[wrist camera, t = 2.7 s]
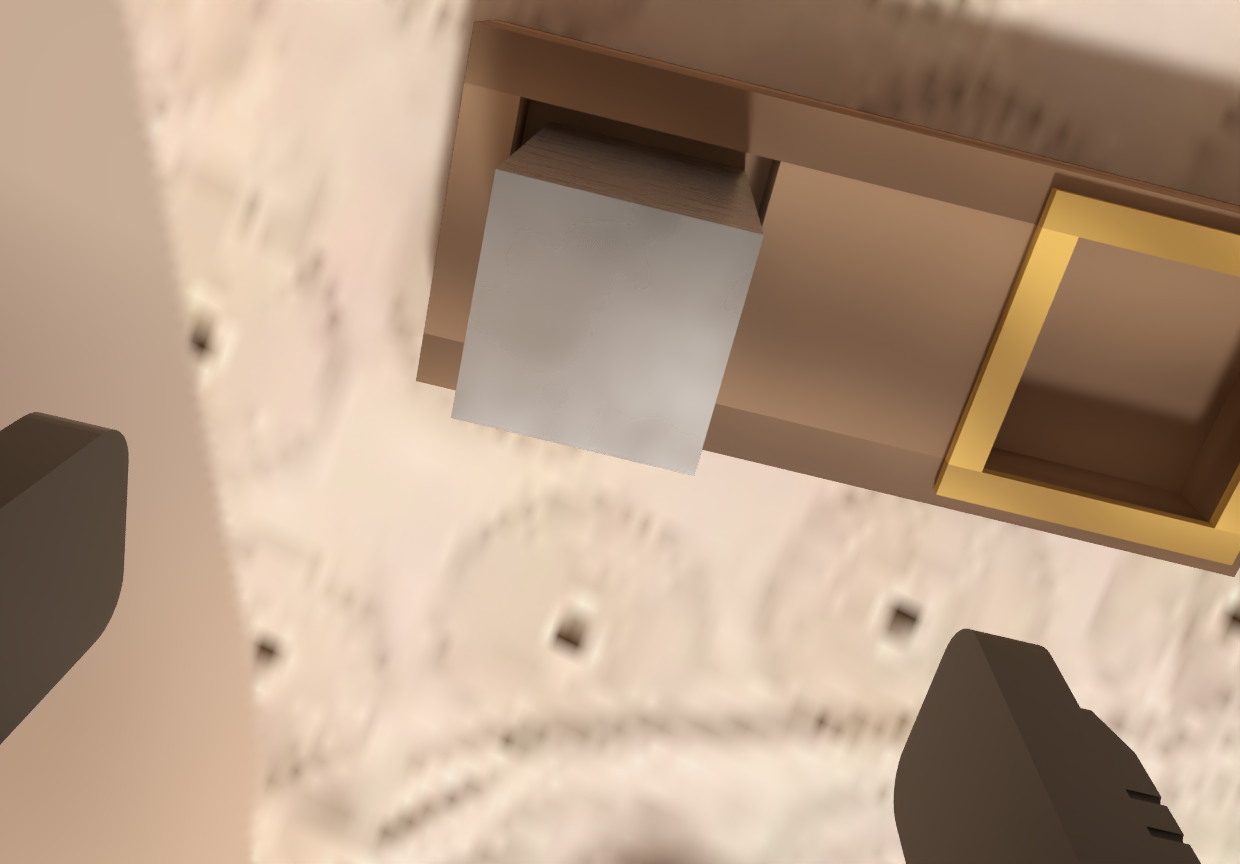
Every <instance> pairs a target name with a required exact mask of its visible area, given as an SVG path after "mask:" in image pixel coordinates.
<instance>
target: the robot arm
mask: <svg viewBox="0 0 1240 864" xmlns="http://www.w3.org/2000/svg"><path fill="white" fill-rule="evenodd" d="M127 484H128V447H127V443H126V440H125V438H124V436H123V435H122V434H121V433H120V432H119V431H117V430H113V429H109V428H105V427H100V426H96V425H91V424H87V423H83V422H79V421H74V420H70V419H66V418H61V417H57V416H53V415H48V414H44V413H39V412H34V413H30V414H28V415H25V416H24V417H22V418H20V419H19V420H17V421H15V422H14V423H12V424H11V425H9V426H7V427H6V428H4V429H3V430H1V431H0V744H1V743H2V742H3V741H4V740H5V739H6V738H7V737H8V736H9V735H10V733H11V732H12V731H13V730H14V729H15V728H16V727H17V726H18V725H19V724H20V723H21V722H22V721H23V719H24V718H25V717H26V716H27V715H28V714H29V713H30V712H31V711H32V710H33V709H34V708H35V706H36V705H37V704H38V703H39V702H40V701H41V700H42V699H43V698H44V697H45V695H47V694H48V692H49V691H50V690H51V689H52V688H53V687H54V686H55V685H56V684H57V683H58V682H59V681H60V680H61V678H62V677H63V676H64V675H65V674H66V673H67V672H68V671H69V669H71V668H72V667H73V666H74V664H75V663H76V662H77V661H78V660H79V659H80V658H81V657H82V656H83V655H84V654H85V652H86V651H87V650H88V649H89V648H90V647H91V646H92V645H93V644H94V643H95V642H96V640H97V639H98V638H99V637H100V636H101V634H102V632H103V631H104V630H105V628H106V626H107V624H108V623H109V621H110V619H111V617H112V615H113V612H114V610H115V607H116V605H117V602H118V598H119V595H120V591H121V587H122V582H123V573H124V553H125V529H126V507H127ZM1160 800H1161V796H1160V794H1159V792H1158V791H1157V789H1156V787H1155V786H1154V784H1153V782H1152V781H1151V779H1150V777H1149V776H1148V774H1147V772H1146V771H1145V769H1144V767H1143V766H1142V764H1141V762H1140V761H1139V759H1138V757H1137V756H1136V754H1135V752H1133V751H1132V750H1131V749H1130V748H1129V747H1128V746H1127V745H1126V744H1125V743H1124V742H1123V741H1122V740H1121V739H1120V738H1119V737H1118V736H1117V735H1116V734H1115V733H1114V732H1113V731H1112V730H1111V729H1110V728H1109V727H1108V726H1107V725H1106V724H1105V723H1104V722H1102V721H1101V720H1100V719H1099V718H1098V717H1097V716H1096V715H1095V714H1094V713H1093V712H1092V711H1091V710H1086V709H1082V708H1080V707H1079V705H1078V703H1077V701H1076V699H1075V698H1074V696H1073V694H1072V692H1071V690H1070V689H1069V687H1068V685H1067V683H1066V681H1065V680H1064V678H1063V676H1062V674H1061V672H1060V671H1059V669H1058V667H1057V665H1056V663H1055V662H1054V660H1053V658H1052V656H1051V655H1050V653H1049V652H1048V650H1046V649H1045V648H1044V647H1042V646H1040V645H1035V644H1031V643H1027V642H1023V641H1018V640H1014V639H1010V638H1005V637H1001V636H997V635H992V634H988V633H984V632H979V631H975V630H971V629H962V630H960V631H959V632H957V633H956V634H955V635H954V637H953V638H952V639H951V641H950V642H949V644H948V646H947V648H946V650H945V652H944V655H943V657H942V659H941V662H940V664H939V667H938V669H937V671H936V674H935V676H934V678H933V681H932V683H931V685H930V688H929V690H928V693H927V695H926V697H925V700H924V702H923V704H922V707H921V709H920V712H919V714H918V716H917V719H916V721H915V723H914V726H913V728H912V730H911V733H910V735H909V738H908V740H907V742H906V745H905V747H904V749H903V752H902V755H901V757H900V761H899V764H898V769H897V773H896V779H895V787H894V814H895V821H896V826H897V830H898V834H899V838H900V842H901V845H902V849H903V853H904V857H905V861H906V864H1201V863H1200V861H1199V860H1198V858H1197V856H1196V854H1195V853H1194V851H1193V849H1192V848H1191V846H1190V845H1189V844H1184V843H1183V836H1184V834H1183V833H1182V831H1181V829H1180V828H1179V826H1178V824H1177V823H1176V821H1175V819H1174V818H1173V816H1172V814H1171V813H1170V811H1169V809H1168V808H1167V806H1164V805H1161V804H1160Z"/></svg>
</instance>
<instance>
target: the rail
mask: <svg viewBox="0 0 1240 864" xmlns="http://www.w3.org/2000/svg"><path fill="white" fill-rule="evenodd" d="M551 121H552V122H556V123H560V124H565V125H569V126H573V127H577V128H581V129H585V130H589V131H593V132H597V133H601V134H605V135H609V136H613V137H617V138H621V139H625V140H629V141H633V142H637V143H641V144H645V145H649V146H653V147H657V148H661V149H665V150H669V151H673V152H678V153H682V154H686V155H690V156H694V157H698V158H702V159H706V160H710V161H714V162H718V163H722V164H726V165H730V166H734V167H738V168H742V169H745V171H746V174H747V178H748V181H749V185H750V188H751V192H752V195H753V199H754V202H755V206H756V209H757V212H758V216H759V219H760V223H761V226H762V230H763V233H764V237H763V240H762V244H761V247H760V251H759V254H758V258H757V261H756V265H755V268H754V272H753V275H752V278H751V282H750V285H749V289H748V292H747V296H746V299H745V303H744V306H743V310H742V313H741V316H740V320H739V323H738V327H737V330H736V334H735V337H734V341H733V344H732V348H731V351H730V355H729V358H728V361H727V365H726V368H725V372H724V375H723V379H722V382H721V386H720V389H719V393H718V396H717V399H716V403H715V406H714V410H713V413H712V417H711V420H710V424H709V427H708V431H707V434H706V437H705V441H704V444H703V448H702V450H706V451H711V452H715V453H719V454H723V455H727V456H731V457H736V458H740V459H744V460H748V461H752V462H756V463H761V464H765V465H769V466H773V467H777V468H782V469H786V470H790V471H794V472H798V473H802V474H807V475H811V476H815V477H819V478H823V479H827V480H832V481H836V482H840V483H844V484H848V485H852V486H857V487H861V488H865V489H869V490H873V491H877V492H882V493H886V494H890V495H894V496H898V497H902V498H907V499H911V500H915V501H919V502H923V503H927V504H932V505H936V506H940V507H944V508H948V509H953V510H957V511H961V512H965V513H969V514H973V515H978V516H982V517H986V518H990V519H994V520H998V521H1003V522H1007V523H1011V524H1015V525H1019V526H1023V527H1028V528H1032V529H1036V530H1040V531H1044V532H1048V533H1053V534H1057V535H1061V536H1065V537H1069V538H1073V539H1078V540H1082V541H1086V542H1090V543H1094V544H1098V545H1103V546H1107V547H1111V548H1115V549H1119V550H1124V551H1128V552H1132V553H1136V554H1140V555H1144V556H1149V557H1153V558H1157V559H1161V560H1165V561H1169V562H1174V563H1178V564H1182V565H1186V566H1190V567H1194V568H1199V569H1203V570H1207V571H1211V572H1215V573H1219V574H1224V575H1228V576H1232V577H1235V575H1236V573H1237V571H1238V569H1239V568H1240V206H1238V205H1234V204H1230V203H1226V202H1222V201H1218V200H1214V199H1210V198H1206V197H1202V196H1198V195H1194V194H1190V193H1186V192H1182V191H1178V190H1174V189H1170V188H1166V187H1162V186H1158V185H1154V184H1150V183H1146V182H1142V181H1138V180H1134V179H1130V178H1126V177H1122V176H1118V175H1114V174H1110V173H1106V172H1102V171H1098V170H1094V169H1090V168H1086V167H1082V166H1078V165H1074V164H1070V163H1066V162H1062V161H1058V160H1054V159H1050V158H1046V157H1042V156H1038V155H1034V154H1030V153H1026V152H1022V151H1018V150H1014V149H1010V148H1006V147H1002V146H998V145H994V144H990V143H986V142H982V141H978V140H974V139H970V138H966V137H962V136H958V135H954V134H950V133H946V132H942V131H938V130H934V129H930V128H926V127H922V126H918V125H914V124H910V123H906V122H902V121H898V120H894V119H890V118H886V117H882V116H878V115H874V114H870V113H866V112H862V111H858V110H854V109H850V108H846V107H842V106H838V105H834V104H830V103H826V102H822V101H818V100H814V99H810V98H806V97H802V96H798V95H794V94H790V93H786V92H782V91H778V90H774V89H770V88H766V87H762V86H758V85H754V84H750V83H746V82H742V81H738V80H734V79H730V78H726V77H722V76H718V75H714V74H710V73H706V72H702V71H698V70H694V69H690V68H686V67H682V66H678V65H674V64H670V63H666V62H662V61H658V60H654V59H650V58H646V57H642V56H638V55H634V54H630V53H626V52H622V51H618V50H614V49H610V48H606V47H602V46H598V45H594V44H590V43H586V42H582V41H578V40H574V39H570V38H566V37H562V36H558V35H554V34H550V33H546V32H542V31H538V30H534V29H530V28H526V27H522V26H518V25H514V24H510V23H506V22H502V21H498V20H488V21H480V22H474V26H473V32H472V38H471V44H470V50H469V57H468V63H467V69H466V75H465V81H464V87H463V94H462V100H461V106H460V112H459V118H458V125H457V131H456V137H455V143H454V149H453V155H452V162H451V168H450V174H449V180H448V186H447V193H446V199H445V205H444V211H443V217H442V223H441V230H440V236H439V242H438V248H437V254H436V261H435V267H434V273H433V279H432V285H431V291H430V298H429V304H428V310H427V316H426V322H425V328H424V335H423V341H422V347H421V353H420V359H419V366H418V372H417V378H416V381H419V382H423V383H427V384H431V385H435V386H440V387H444V388H448V389H452V390H456V387H457V382H458V376H459V371H460V365H461V359H462V354H463V348H464V343H465V337H466V331H467V326H468V320H469V315H470V309H471V304H472V298H473V292H474V287H475V281H476V276H477V270H478V264H479V259H480V253H481V248H482V242H483V237H484V231H485V225H486V220H487V214H488V209H489V203H490V197H491V192H492V186H493V181H494V175H495V170H496V168H497V167H499V166H500V165H501V164H502V163H503V162H504V161H505V160H507V159H508V158H509V157H510V156H511V155H512V154H514V153H515V152H516V151H517V150H518V149H519V148H521V147H522V146H523V145H524V144H525V143H526V142H527V141H529V140H530V139H531V138H532V137H533V136H534V135H536V134H537V133H538V132H539V131H540V130H541V129H542V128H544V127H545V126H546V125H547V124H548V123H549V122H551Z"/></svg>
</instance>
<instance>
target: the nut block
mask: <svg viewBox="0 0 1240 864" xmlns="http://www.w3.org/2000/svg"><path fill="white" fill-rule="evenodd" d="M763 237H764V233H763V230H762V226H761V223H760V219H759V216H758V212H757V209H756V206H755V202H754V199H753V195H752V192H751V188H750V185H749V181H748V178H747V174H746V171H745V169H742V168H738V167H734V166H730V165H726V164H722V163H718V162H714V161H710V160H706V159H702V158H698V157H694V156H690V155H686V154H682V153H678V152H673V151H669V150H665V149H661V148H657V147H653V146H649V145H645V144H641V143H637V142H633V141H629V140H625V139H621V138H617V137H613V136H609V135H605V134H601V133H597V132H593V131H589V130H585V129H581V128H577V127H573V126H569V125H565V124H560V123H556V122H552V121H551V122H549V123H548V124H547V125H546V126H545V127H544V128H542V129H541V130H540V131H539V132H538V133H537V134H536V135H534V136H533V137H532V138H531V139H530V140H529V141H527V142H526V143H525V144H524V145H523V146H522V147H521V148H519V149H518V150H517V151H516V152H515V153H514V154H512V155H511V156H510V157H509V158H508V159H507V160H505V161H504V162H503V163H502V164H501V165H500V166H499V167H497V168H496V170H495V175H494V181H493V186H492V192H491V197H490V203H489V209H488V214H487V220H486V225H485V231H484V237H483V242H482V248H481V253H480V259H479V264H478V270H477V276H476V281H475V287H474V292H473V298H472V304H471V309H470V315H469V320H468V326H467V331H466V337H465V343H464V348H463V354H462V359H461V365H460V371H459V376H458V382H457V387H456V393H455V398H454V404H453V410H452V415H451V418H454V419H458V420H462V421H466V422H471V423H475V424H479V425H483V426H487V427H491V428H496V429H500V430H504V431H508V432H512V433H517V434H521V435H525V436H529V437H533V438H537V439H542V440H546V441H550V442H554V443H558V444H563V445H567V446H571V447H575V448H579V449H583V450H588V451H592V452H596V453H600V454H604V455H609V456H613V457H617V458H621V459H625V460H630V461H634V462H638V463H642V464H646V465H650V466H655V467H659V468H663V469H667V470H671V471H676V472H680V473H684V474H688V475H692V476H695V472H696V469H697V465H698V462H699V458H700V455H701V451H702V448H703V444H704V441H705V437H706V434H707V431H708V427H709V424H710V420H711V417H712V413H713V410H714V406H715V403H716V399H717V396H718V393H719V389H720V386H721V382H722V379H723V375H724V372H725V368H726V365H727V361H728V358H729V355H730V351H731V348H732V344H733V341H734V337H735V334H736V330H737V327H738V323H739V320H740V316H741V313H742V310H743V306H744V303H745V299H746V296H747V292H748V289H749V285H750V282H751V278H752V275H753V272H754V268H755V265H756V261H757V258H758V254H759V251H760V247H761V244H762V240H763Z"/></svg>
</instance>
